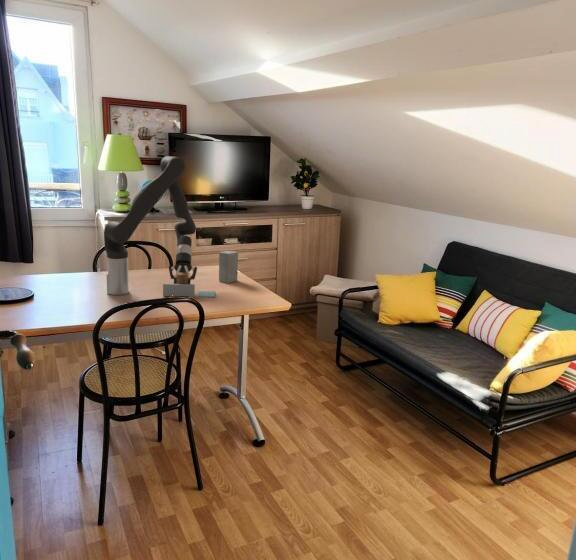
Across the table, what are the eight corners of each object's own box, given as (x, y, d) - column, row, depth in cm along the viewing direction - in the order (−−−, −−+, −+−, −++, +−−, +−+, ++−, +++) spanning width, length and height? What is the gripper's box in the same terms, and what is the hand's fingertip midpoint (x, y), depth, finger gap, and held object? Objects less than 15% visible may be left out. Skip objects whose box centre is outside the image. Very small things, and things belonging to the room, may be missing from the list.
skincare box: (227, 283, 271) (228, 254, 267) (217, 280, 275) (218, 251, 271) (238, 280, 278) (239, 251, 274) (228, 278, 282) (229, 249, 278)
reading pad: (197, 297, 247) (197, 295, 247) (198, 292, 254) (198, 290, 254) (214, 297, 248) (214, 296, 248) (214, 292, 256) (214, 291, 255)
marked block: (176, 294, 248) (176, 274, 245) (177, 291, 253) (177, 271, 250) (187, 295, 249) (187, 274, 246) (187, 291, 254) (187, 272, 251)
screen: (163, 296, 244) (163, 284, 243) (163, 295, 245) (163, 283, 244) (194, 297, 246) (194, 285, 245) (194, 296, 248) (194, 284, 246)
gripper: (168, 251, 252) (166, 282, 244) (198, 252, 254) (197, 282, 246) (169, 259, 258) (167, 289, 250) (198, 260, 260) (197, 290, 252)
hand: (182, 286), depth 248 cm, fingers closed on marked block, 5 cm apart
